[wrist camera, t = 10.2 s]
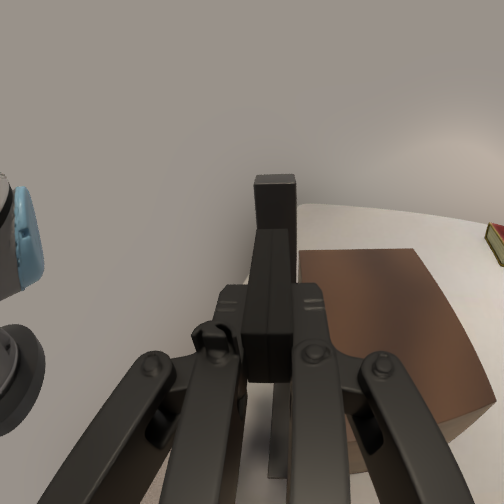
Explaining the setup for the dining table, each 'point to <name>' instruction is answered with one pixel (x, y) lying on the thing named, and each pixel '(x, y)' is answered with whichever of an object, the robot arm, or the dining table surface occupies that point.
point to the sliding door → (278, 208)
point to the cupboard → (390, 338)
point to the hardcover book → (496, 241)
